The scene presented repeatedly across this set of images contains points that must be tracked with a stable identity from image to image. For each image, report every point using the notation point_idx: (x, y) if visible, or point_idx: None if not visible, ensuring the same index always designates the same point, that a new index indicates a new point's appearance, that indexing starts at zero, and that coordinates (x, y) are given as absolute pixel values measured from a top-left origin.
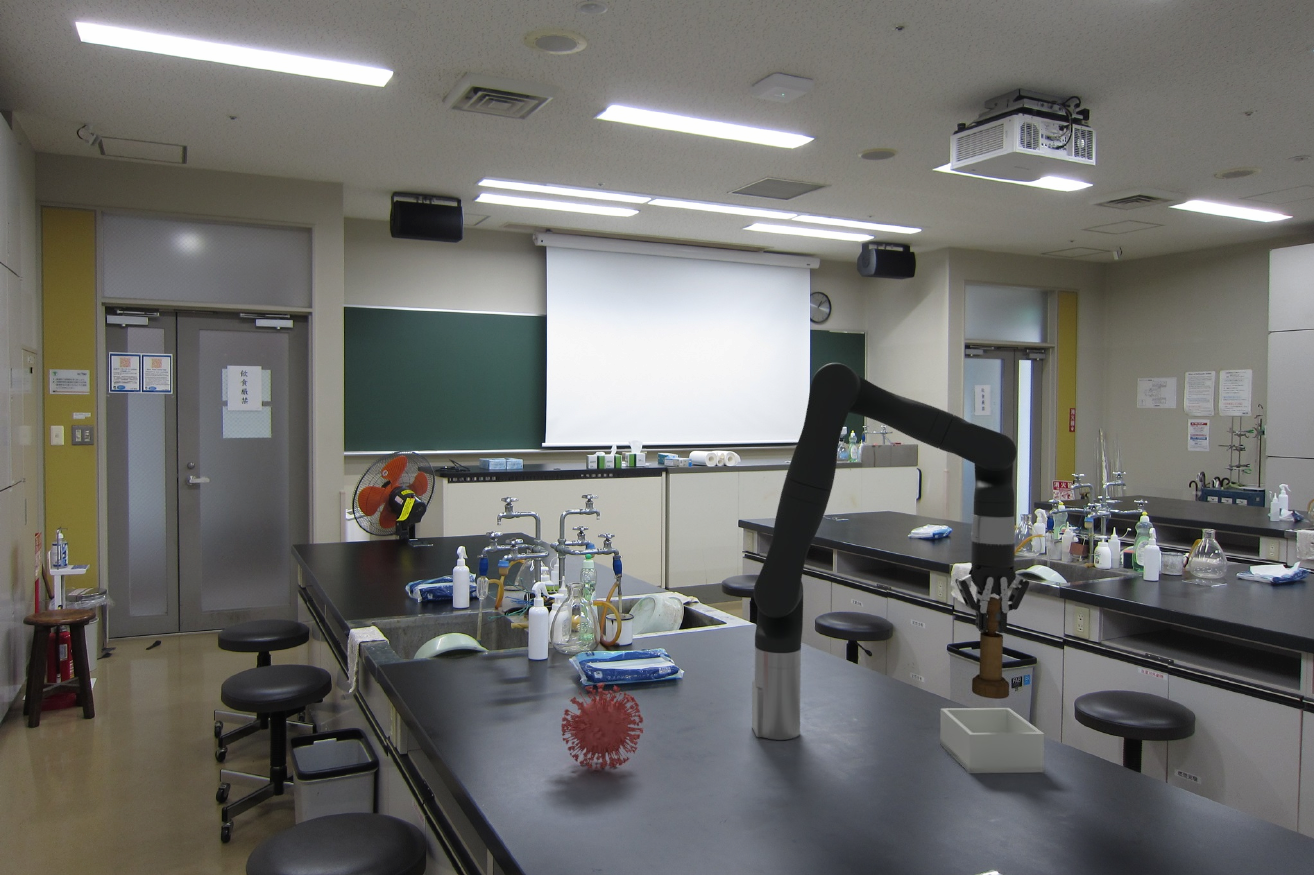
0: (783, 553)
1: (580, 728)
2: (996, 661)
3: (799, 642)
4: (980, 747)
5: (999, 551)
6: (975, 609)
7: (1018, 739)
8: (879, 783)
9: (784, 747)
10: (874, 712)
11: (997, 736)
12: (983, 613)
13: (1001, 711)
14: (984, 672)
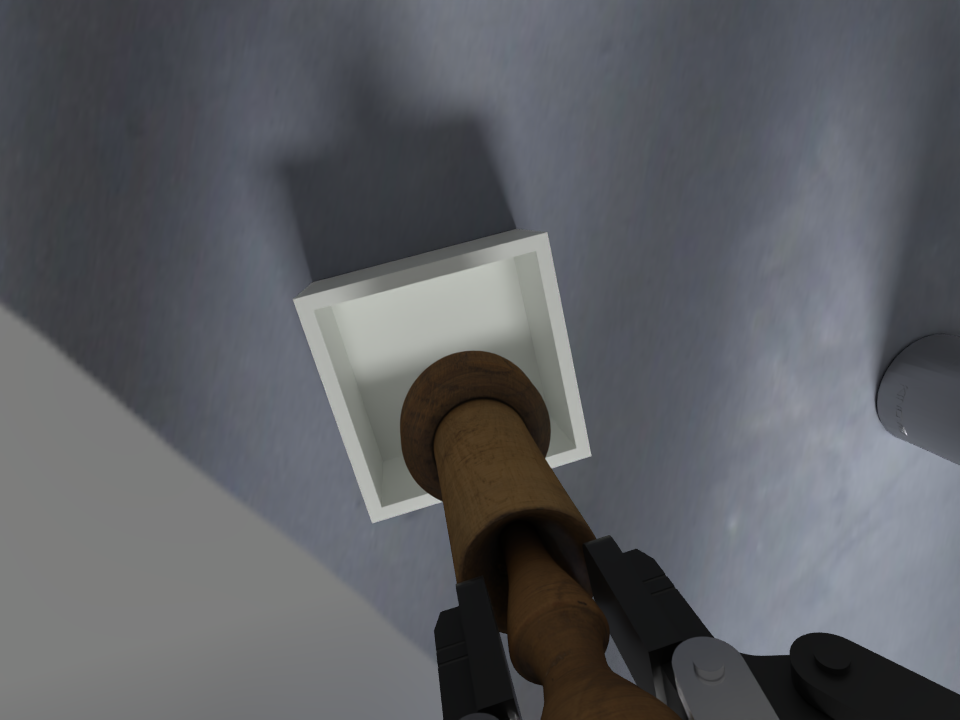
0: None
1: None
2: (480, 441)
3: None
4: (502, 239)
5: None
6: (776, 664)
7: (383, 273)
8: (753, 111)
9: (925, 297)
10: (678, 581)
11: (454, 255)
12: (683, 643)
13: (399, 498)
14: (521, 424)
